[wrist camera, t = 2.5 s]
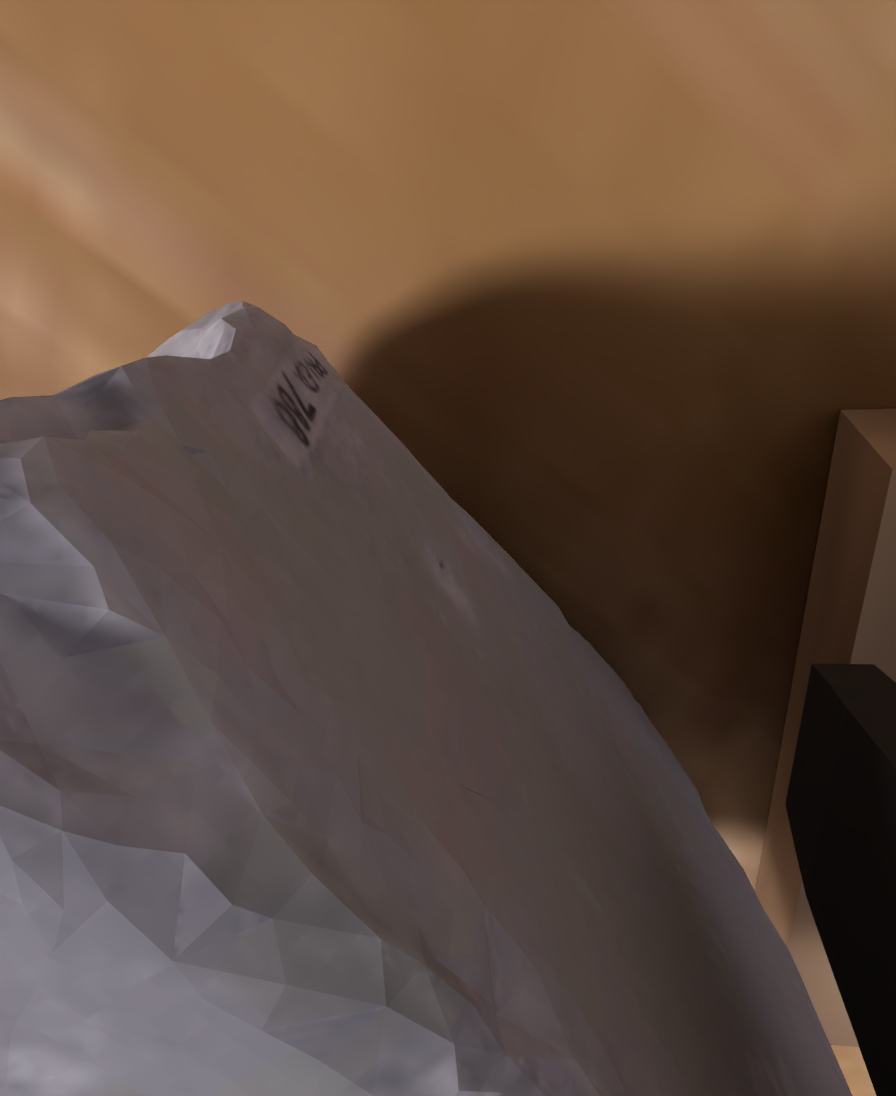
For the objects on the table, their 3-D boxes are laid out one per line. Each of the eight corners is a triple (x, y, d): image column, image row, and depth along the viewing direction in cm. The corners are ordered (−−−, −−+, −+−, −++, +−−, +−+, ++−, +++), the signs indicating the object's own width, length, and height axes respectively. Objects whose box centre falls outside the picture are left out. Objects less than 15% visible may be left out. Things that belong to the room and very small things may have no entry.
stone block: (799, 750, 14) (1135, 1745, 6) (564, 833, 16) (561, 1684, 8) (402, 131, 10) (-462, 512, 2) (144, 339, 12) (-895, 1030, 3)
